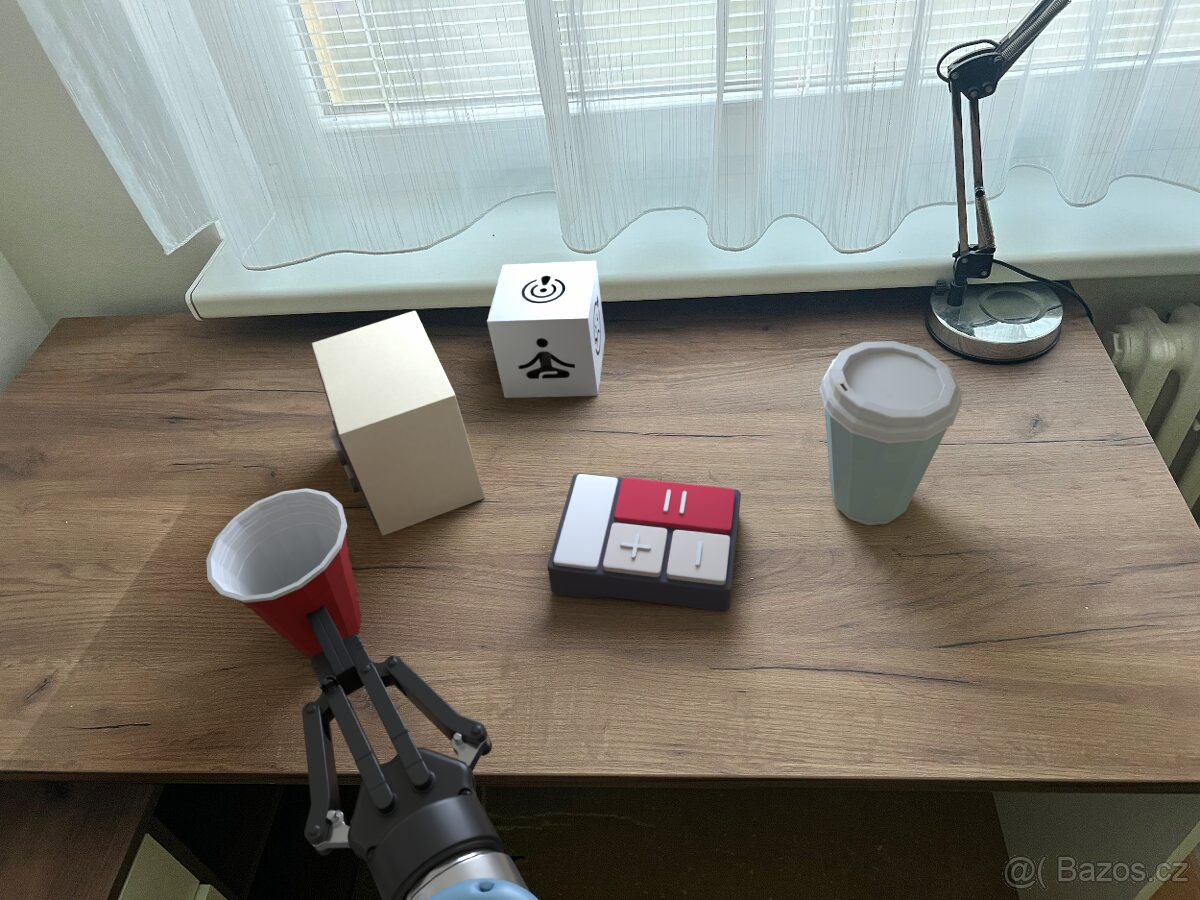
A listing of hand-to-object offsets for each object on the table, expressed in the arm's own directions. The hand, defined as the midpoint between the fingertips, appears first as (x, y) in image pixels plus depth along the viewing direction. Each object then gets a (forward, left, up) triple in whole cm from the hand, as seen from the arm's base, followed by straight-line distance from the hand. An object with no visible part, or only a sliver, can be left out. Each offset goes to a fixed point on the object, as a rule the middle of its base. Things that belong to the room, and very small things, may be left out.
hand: (320, 619), depth 67 cm
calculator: (+27, -1, -6) cm, 28 cm away
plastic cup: (-1, +4, -6) cm, 7 cm away
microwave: (+11, +19, -6) cm, 23 cm away
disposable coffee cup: (+47, -5, -6) cm, 48 cm away
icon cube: (+29, +27, -6) cm, 40 cm away
